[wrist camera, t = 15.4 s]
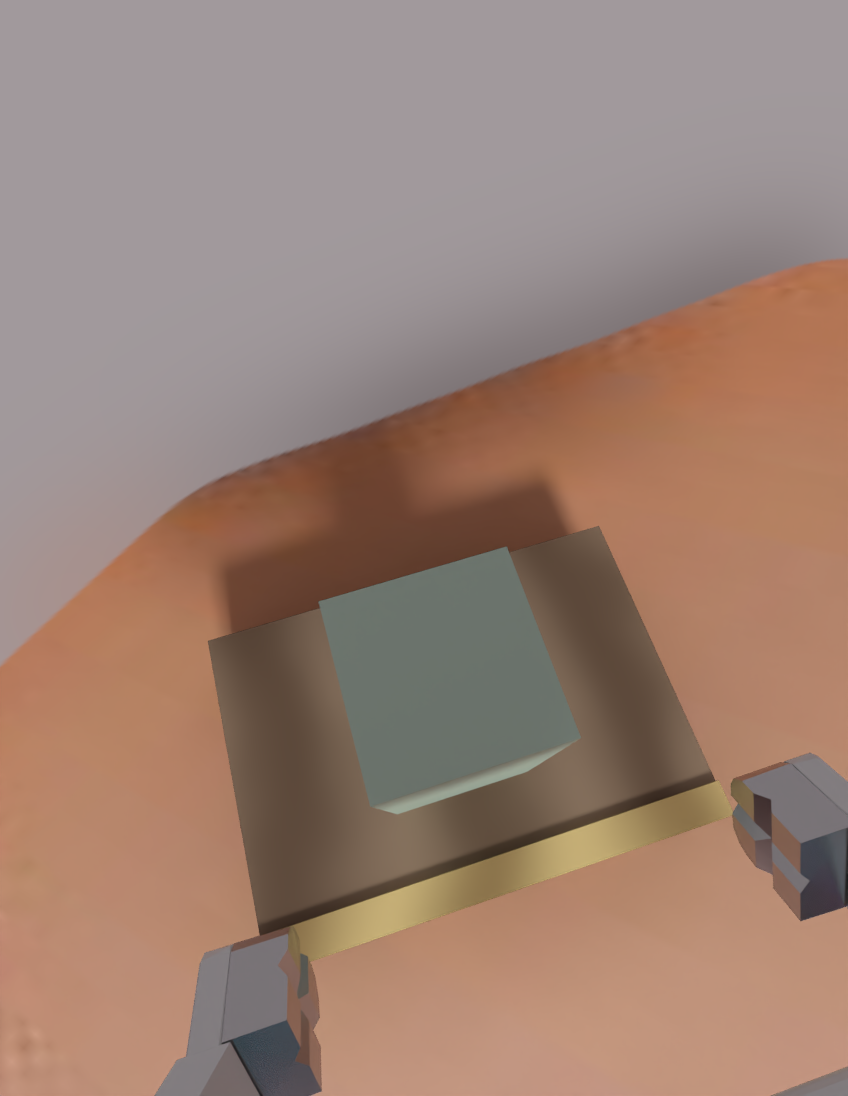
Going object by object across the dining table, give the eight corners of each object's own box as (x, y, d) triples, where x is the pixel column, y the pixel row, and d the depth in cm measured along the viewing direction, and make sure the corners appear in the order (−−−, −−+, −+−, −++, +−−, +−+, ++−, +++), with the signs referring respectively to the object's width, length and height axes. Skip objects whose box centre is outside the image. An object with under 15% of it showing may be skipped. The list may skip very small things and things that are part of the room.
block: (483, 645, 26) (506, 546, 17) (527, 771, 24) (580, 737, 15) (362, 682, 25) (318, 601, 16) (397, 814, 24) (369, 806, 14)
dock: (580, 560, 32) (600, 522, 28) (691, 816, 27) (734, 814, 23) (236, 663, 30) (205, 638, 26) (292, 954, 25) (264, 977, 21)
